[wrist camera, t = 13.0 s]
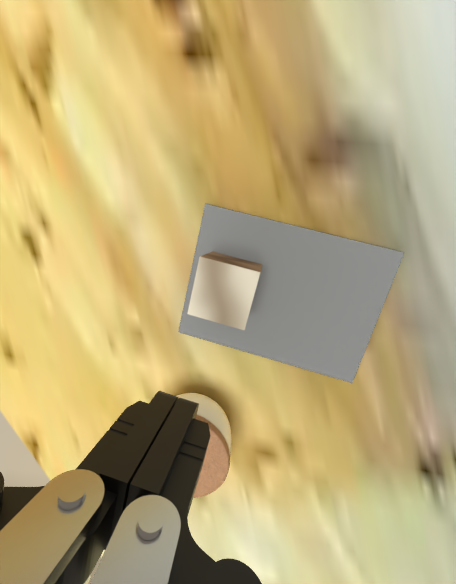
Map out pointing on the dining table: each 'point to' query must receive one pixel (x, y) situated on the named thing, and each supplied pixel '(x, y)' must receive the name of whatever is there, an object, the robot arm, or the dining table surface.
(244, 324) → the walnut cube
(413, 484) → the dining table surface
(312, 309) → the mat
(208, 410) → the lidded jar
